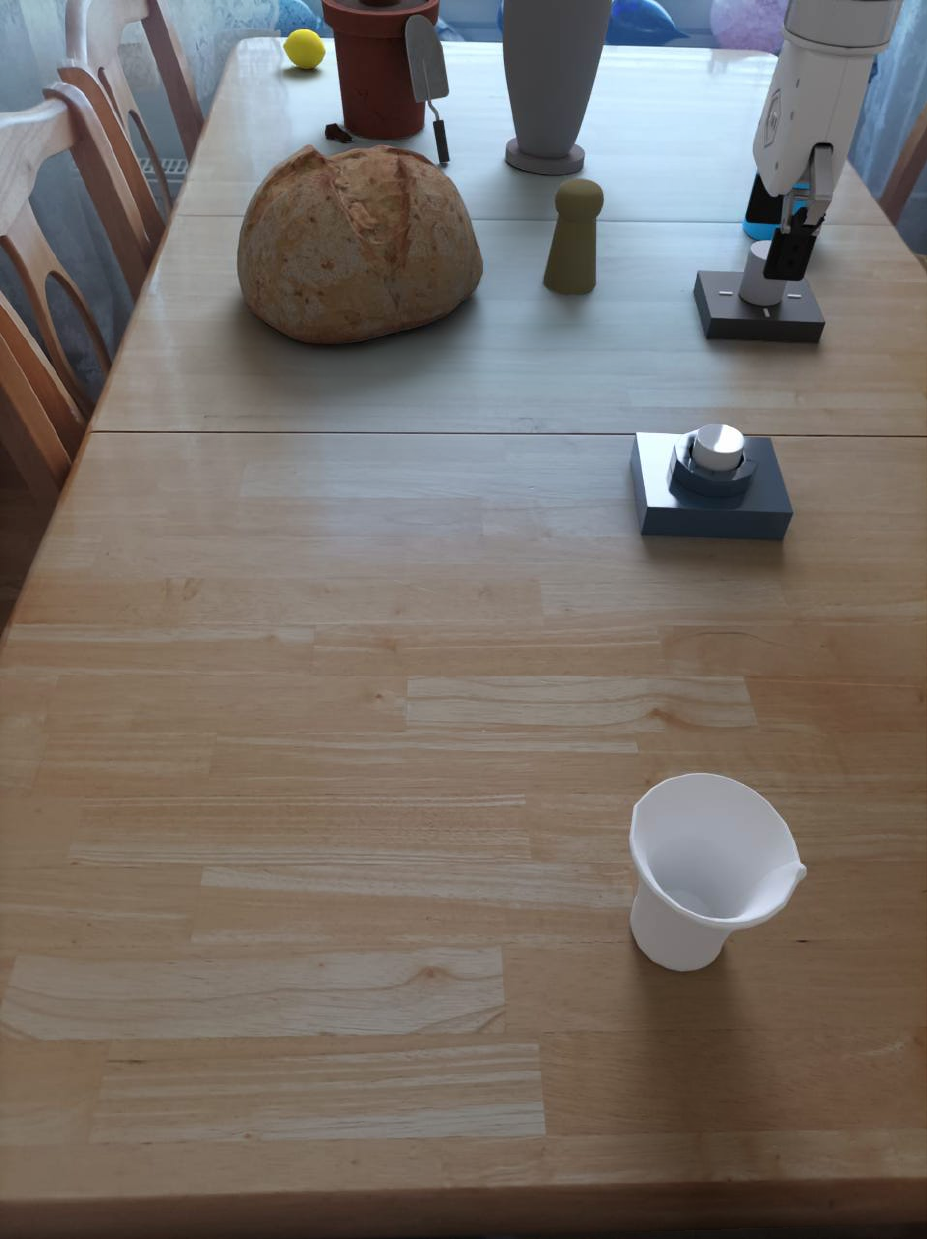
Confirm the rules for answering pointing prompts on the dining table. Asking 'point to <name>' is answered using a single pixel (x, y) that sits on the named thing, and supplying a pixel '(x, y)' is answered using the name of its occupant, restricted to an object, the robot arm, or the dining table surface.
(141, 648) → the dining table surface
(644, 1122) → the dining table surface
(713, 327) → the knob base
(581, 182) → the game pawn
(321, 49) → the lemon
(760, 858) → the cup
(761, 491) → the push button box
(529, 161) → the vase
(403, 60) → the potted plant
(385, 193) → the bread
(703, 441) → the button
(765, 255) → the lock knob
